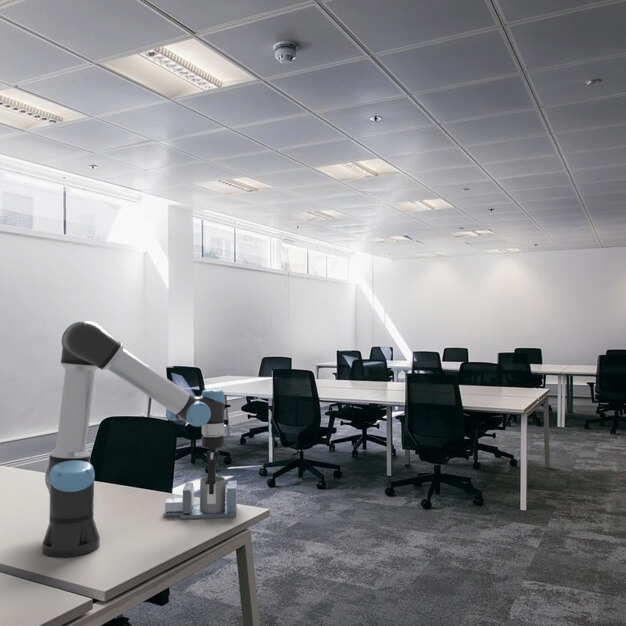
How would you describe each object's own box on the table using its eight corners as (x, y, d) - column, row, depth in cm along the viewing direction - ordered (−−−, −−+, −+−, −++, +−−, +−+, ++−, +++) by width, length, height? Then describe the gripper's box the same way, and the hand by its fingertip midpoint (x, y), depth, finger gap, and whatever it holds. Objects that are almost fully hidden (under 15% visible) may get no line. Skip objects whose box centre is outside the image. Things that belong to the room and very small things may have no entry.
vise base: (235, 517, 195) (236, 489, 196) (161, 519, 193) (162, 491, 193) (236, 506, 207) (236, 480, 208) (166, 508, 205) (167, 482, 205)
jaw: (191, 513, 195) (191, 490, 195) (164, 514, 194) (164, 491, 194) (194, 504, 205) (194, 482, 205) (168, 505, 204) (168, 483, 204)
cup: (221, 513, 196) (221, 482, 196) (197, 512, 197) (197, 482, 197) (227, 505, 204) (227, 476, 205) (204, 504, 205) (204, 476, 205)
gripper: (222, 441, 189) (222, 508, 189) (225, 428, 214) (225, 487, 213) (199, 442, 189) (198, 509, 188) (204, 429, 213) (204, 488, 213)
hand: (212, 497), depth 201 cm, fingers open, 13 cm apart
